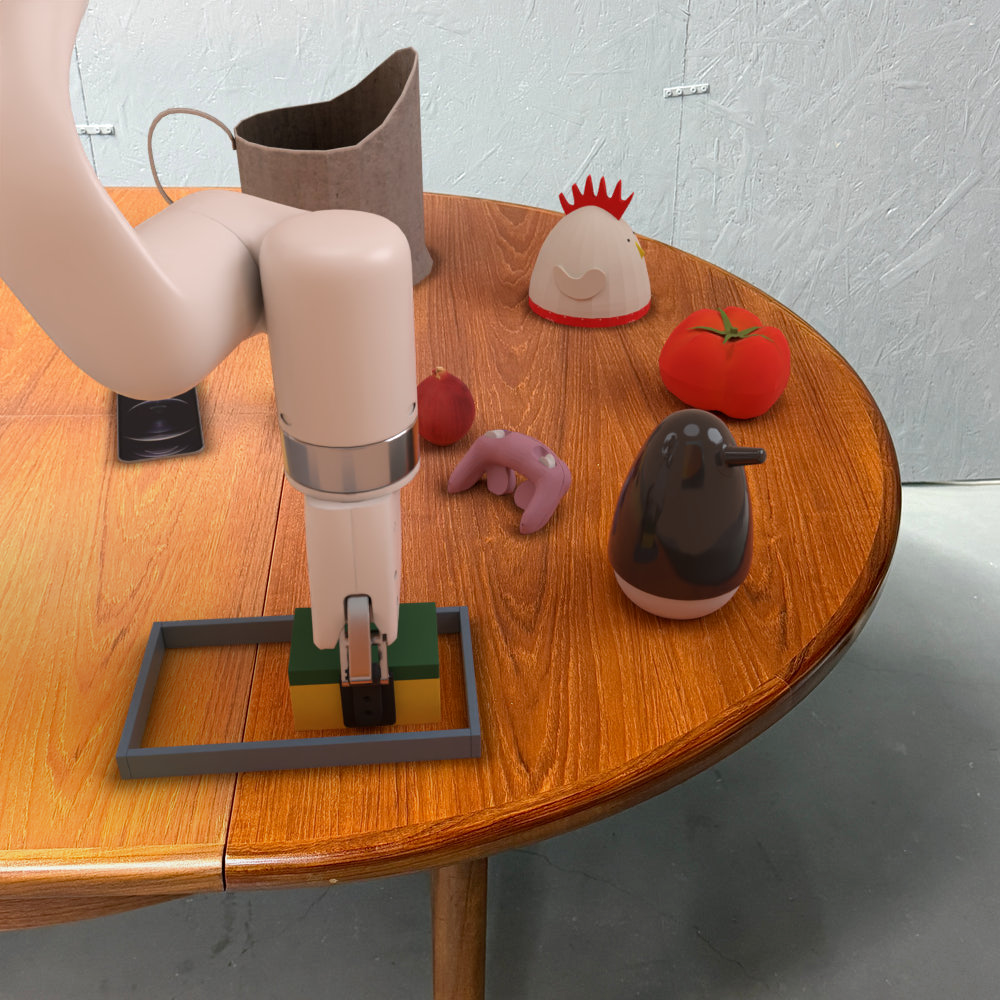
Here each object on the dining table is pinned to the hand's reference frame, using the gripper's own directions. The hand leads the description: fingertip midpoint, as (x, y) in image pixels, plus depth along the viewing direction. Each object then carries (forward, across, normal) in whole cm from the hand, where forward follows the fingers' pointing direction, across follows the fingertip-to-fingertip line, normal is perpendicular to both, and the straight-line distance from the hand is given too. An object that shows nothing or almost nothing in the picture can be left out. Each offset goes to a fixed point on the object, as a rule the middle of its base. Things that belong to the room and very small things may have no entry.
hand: (370, 683), depth 69 cm
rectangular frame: (+1, 0, -4) cm, 4 cm away
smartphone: (+1, -38, -20) cm, 43 cm away
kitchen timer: (+2, -62, +24) cm, 67 cm away
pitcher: (+2, -75, -9) cm, 76 cm away
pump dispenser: (+2, -9, +22) cm, 24 cm away
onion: (+2, -32, +6) cm, 33 cm away
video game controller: (+2, -22, +11) cm, 25 cm away
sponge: (+1, 0, 0) cm, 1 cm away
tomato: (+2, -38, +33) cm, 50 cm away
